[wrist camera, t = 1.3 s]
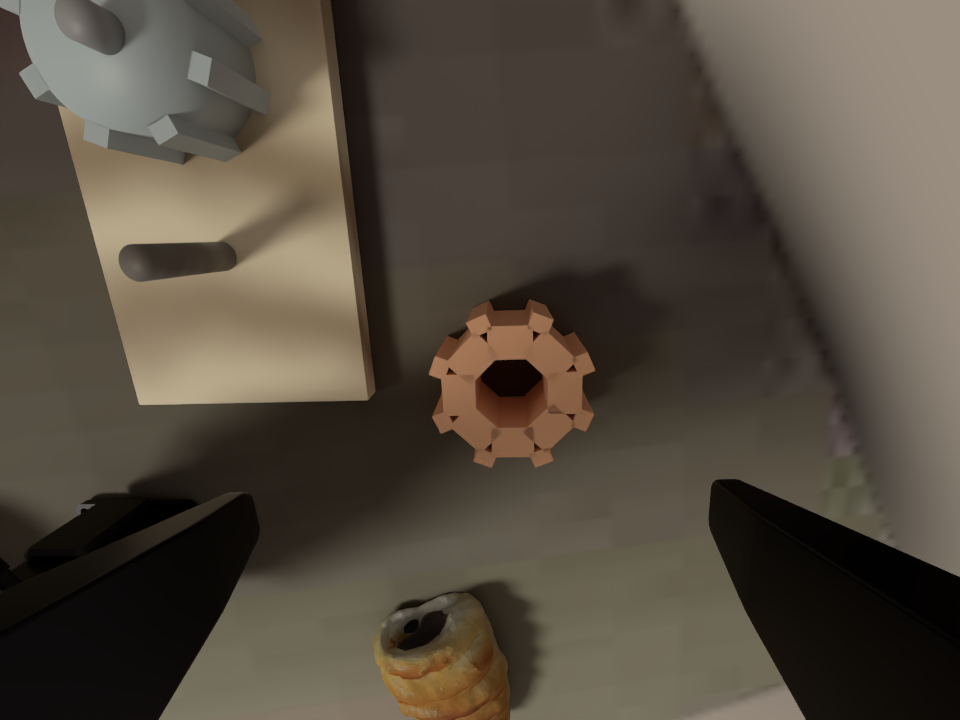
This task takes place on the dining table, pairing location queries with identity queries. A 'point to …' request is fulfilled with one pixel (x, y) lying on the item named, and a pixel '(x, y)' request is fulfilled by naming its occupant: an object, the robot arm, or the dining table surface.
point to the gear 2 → (512, 419)
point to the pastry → (444, 661)
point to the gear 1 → (146, 71)
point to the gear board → (241, 240)
